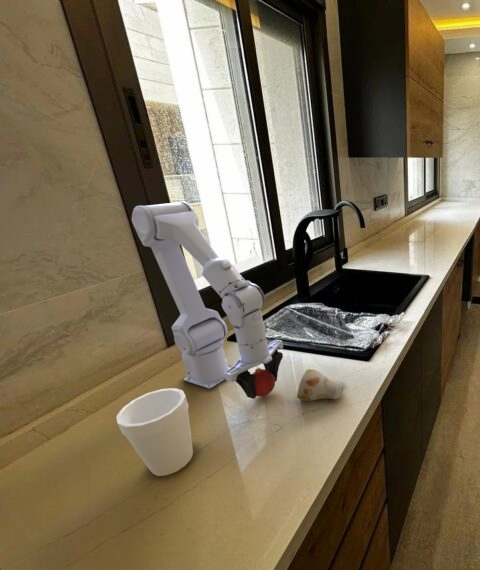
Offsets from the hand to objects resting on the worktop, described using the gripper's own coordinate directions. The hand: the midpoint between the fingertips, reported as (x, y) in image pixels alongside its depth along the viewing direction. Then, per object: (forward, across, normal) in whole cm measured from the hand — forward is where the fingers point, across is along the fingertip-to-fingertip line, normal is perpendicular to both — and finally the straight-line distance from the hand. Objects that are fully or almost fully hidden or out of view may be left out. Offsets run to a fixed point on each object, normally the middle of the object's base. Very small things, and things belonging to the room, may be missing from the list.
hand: (262, 388), depth 77 cm
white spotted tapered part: (+2, +5, -13) cm, 14 cm away
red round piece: (+2, 0, 0) cm, 2 cm away
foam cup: (+2, -20, +2) cm, 20 cm away
